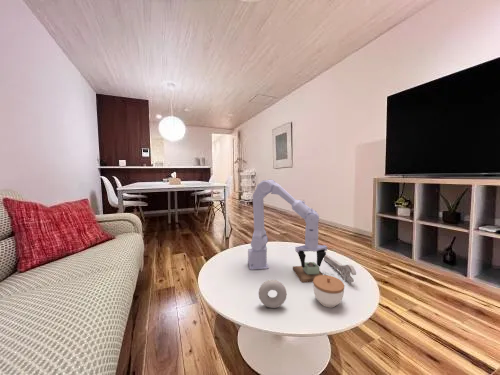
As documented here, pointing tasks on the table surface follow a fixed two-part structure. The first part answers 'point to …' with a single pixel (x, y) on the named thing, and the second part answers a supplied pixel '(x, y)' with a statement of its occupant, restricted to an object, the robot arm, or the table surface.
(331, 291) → the lidded jar
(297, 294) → the table surface
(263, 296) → the donut
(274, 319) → the table surface
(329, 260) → the wrench
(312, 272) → the collar
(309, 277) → the peg base
